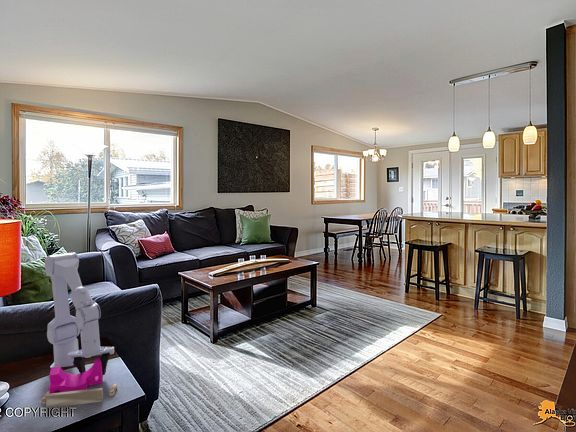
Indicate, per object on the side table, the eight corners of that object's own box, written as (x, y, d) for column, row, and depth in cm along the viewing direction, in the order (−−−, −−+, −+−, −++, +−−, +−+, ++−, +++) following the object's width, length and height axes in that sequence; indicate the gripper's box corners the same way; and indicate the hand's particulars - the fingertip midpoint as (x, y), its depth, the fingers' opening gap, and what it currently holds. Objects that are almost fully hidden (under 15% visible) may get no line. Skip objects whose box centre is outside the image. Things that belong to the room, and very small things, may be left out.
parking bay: (47, 395, 115) (47, 384, 115) (117, 387, 120) (116, 376, 119) (37, 409, 108) (36, 397, 108) (111, 400, 113) (110, 388, 112)
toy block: (50, 399, 113) (47, 380, 111) (53, 386, 119) (51, 368, 117) (102, 387, 120) (100, 369, 117) (102, 375, 125) (101, 358, 123)
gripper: (63, 346, 117) (66, 384, 118) (109, 340, 120) (112, 377, 122) (70, 337, 124) (74, 373, 125) (114, 332, 127) (117, 367, 128)
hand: (93, 375), depth 124 cm, fingers closed on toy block, 6 cm apart
